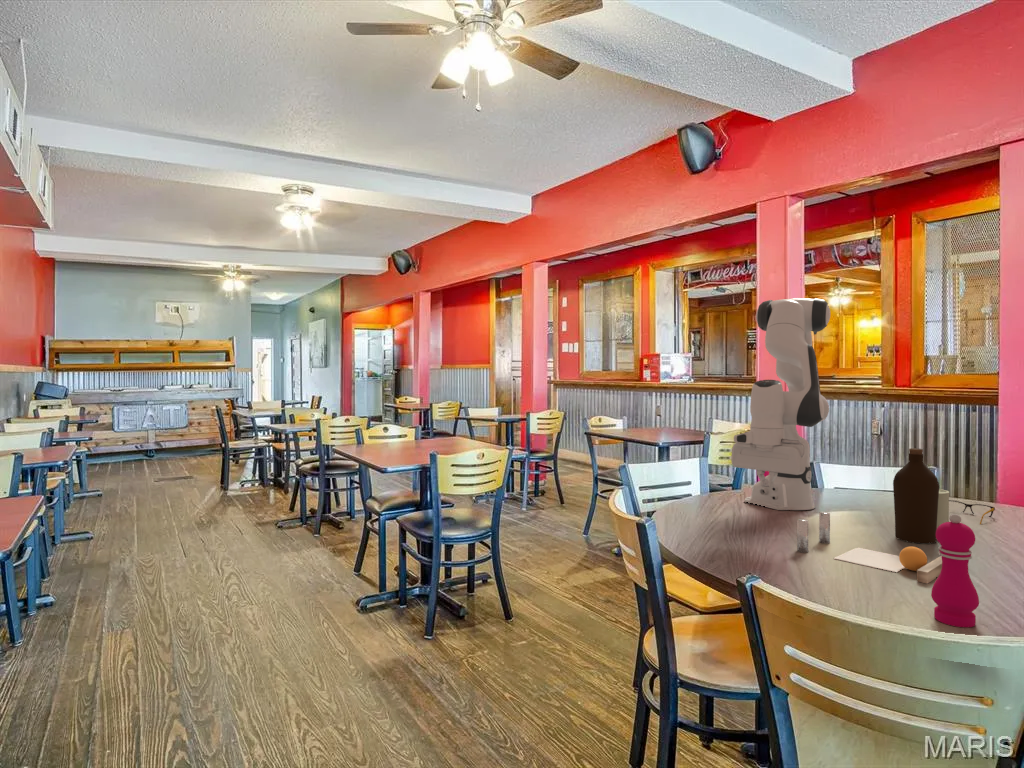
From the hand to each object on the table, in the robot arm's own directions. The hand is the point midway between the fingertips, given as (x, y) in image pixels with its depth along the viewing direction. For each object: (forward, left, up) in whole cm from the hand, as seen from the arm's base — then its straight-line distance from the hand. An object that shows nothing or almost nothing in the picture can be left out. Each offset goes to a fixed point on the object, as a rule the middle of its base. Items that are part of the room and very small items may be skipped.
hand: (767, 486), depth 173 cm
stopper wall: (+41, 0, -14) cm, 43 cm away
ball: (+37, -2, -11) cm, 39 cm away
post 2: (+13, +6, -14) cm, 20 cm away
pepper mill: (+52, -29, -14) cm, 61 cm away
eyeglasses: (+28, +69, -15) cm, 76 cm away
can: (+27, +43, -14) cm, 53 cm away
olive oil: (+28, +28, -14) cm, 42 cm away
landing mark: (+28, 0, -14) cm, 31 cm away
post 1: (+13, -6, -14) cm, 20 cm away
